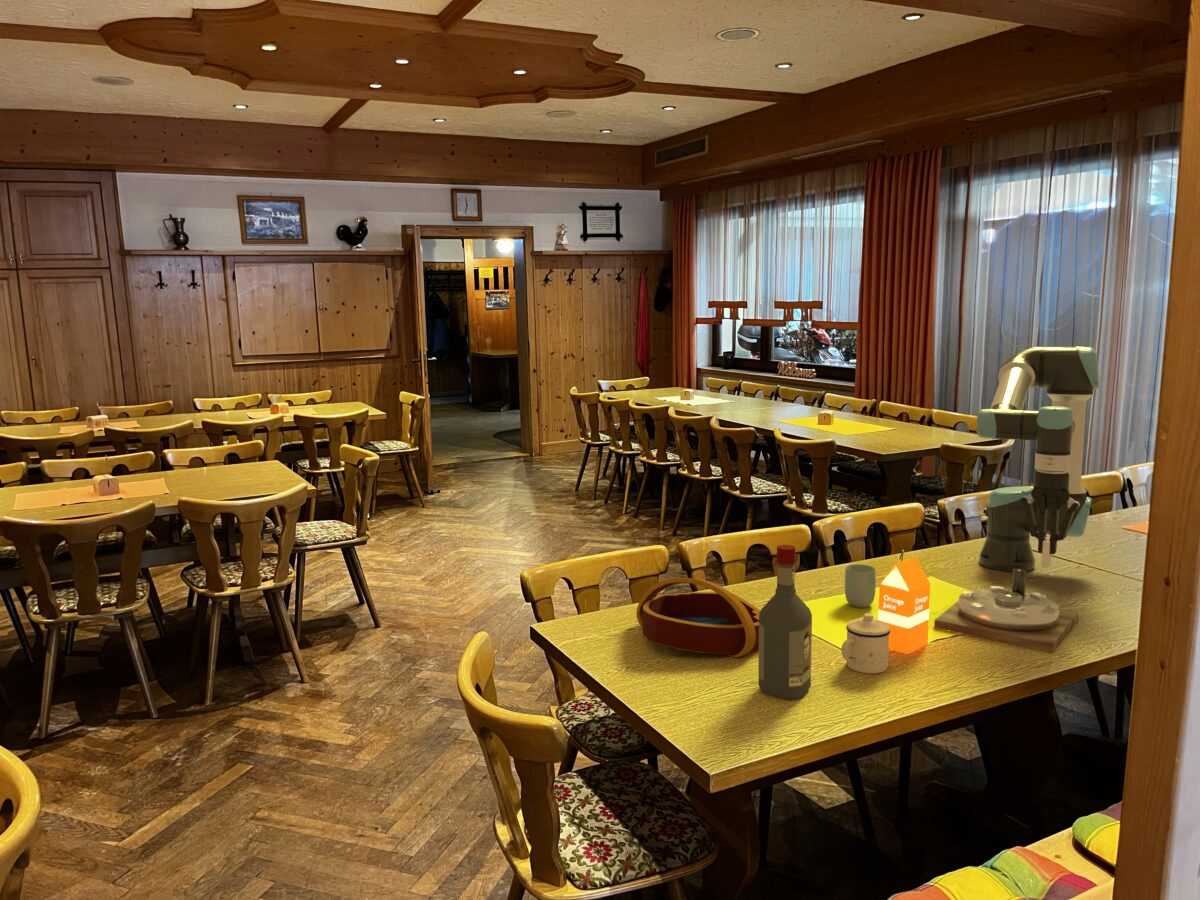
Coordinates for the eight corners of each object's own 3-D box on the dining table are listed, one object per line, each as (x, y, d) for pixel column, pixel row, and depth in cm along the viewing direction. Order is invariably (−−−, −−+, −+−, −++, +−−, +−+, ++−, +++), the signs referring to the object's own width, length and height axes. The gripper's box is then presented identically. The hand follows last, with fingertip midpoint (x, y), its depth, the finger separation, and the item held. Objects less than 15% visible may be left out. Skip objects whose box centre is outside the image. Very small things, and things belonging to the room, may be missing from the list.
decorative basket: (789, 653, 202) (795, 589, 202) (706, 670, 183) (712, 600, 182) (683, 619, 228) (688, 563, 227) (600, 631, 208) (605, 569, 208)
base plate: (968, 599, 229) (968, 591, 229) (1078, 619, 213) (1079, 610, 213) (934, 627, 210) (934, 618, 209) (1052, 652, 193) (1053, 642, 193)
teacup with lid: (866, 655, 194) (867, 605, 192) (898, 668, 186) (900, 616, 185) (826, 666, 188) (827, 615, 186) (858, 681, 180) (859, 627, 179)
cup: (841, 607, 225) (842, 570, 224) (847, 599, 232) (848, 562, 231) (872, 612, 222) (873, 574, 220) (877, 602, 228) (878, 566, 227)
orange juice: (877, 644, 200) (879, 560, 197) (898, 635, 205) (900, 553, 202) (907, 654, 194) (910, 567, 191) (928, 644, 200) (931, 560, 196)
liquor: (754, 693, 176) (755, 549, 171) (772, 677, 184) (773, 539, 179) (797, 703, 171) (799, 555, 166) (814, 686, 178) (816, 544, 174)
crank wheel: (1045, 637, 196) (1047, 599, 194) (945, 617, 210) (947, 582, 208) (1068, 611, 212) (1070, 575, 211) (974, 594, 226) (975, 561, 225)
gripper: (1018, 470, 210) (1013, 565, 213) (1078, 475, 202) (1072, 574, 205) (1026, 466, 216) (1021, 558, 219) (1085, 471, 207) (1079, 567, 211)
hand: (1046, 566), depth 212 cm, fingers closed
